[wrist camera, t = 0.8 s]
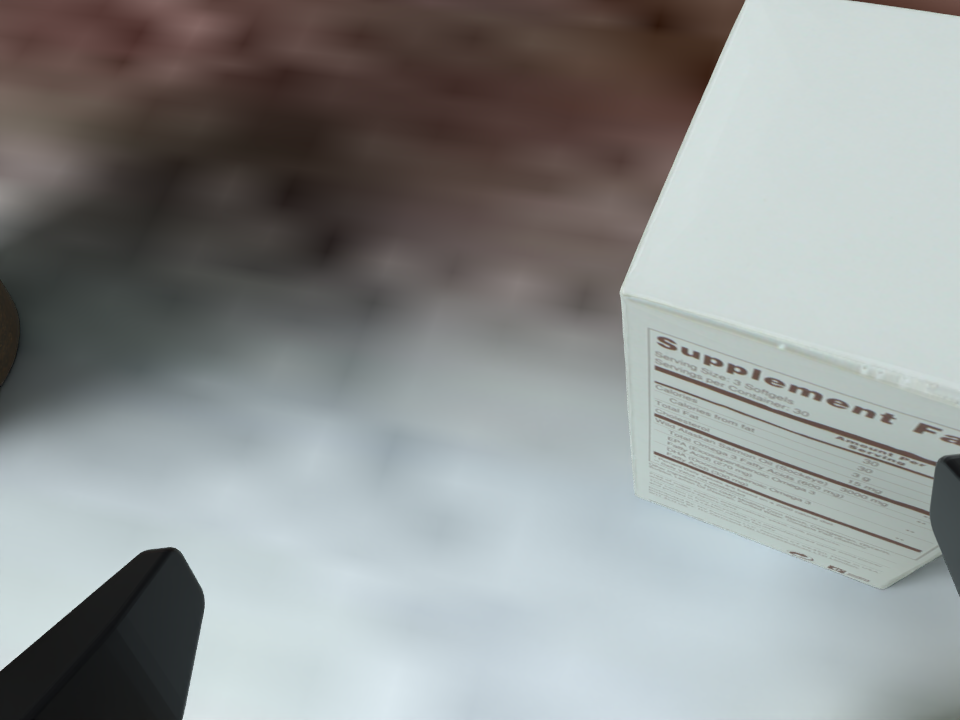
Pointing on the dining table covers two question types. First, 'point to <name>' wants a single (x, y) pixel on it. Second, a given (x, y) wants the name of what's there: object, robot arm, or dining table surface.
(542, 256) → the dining table surface
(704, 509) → the supplement box
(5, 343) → the plant pot
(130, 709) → the robot arm
